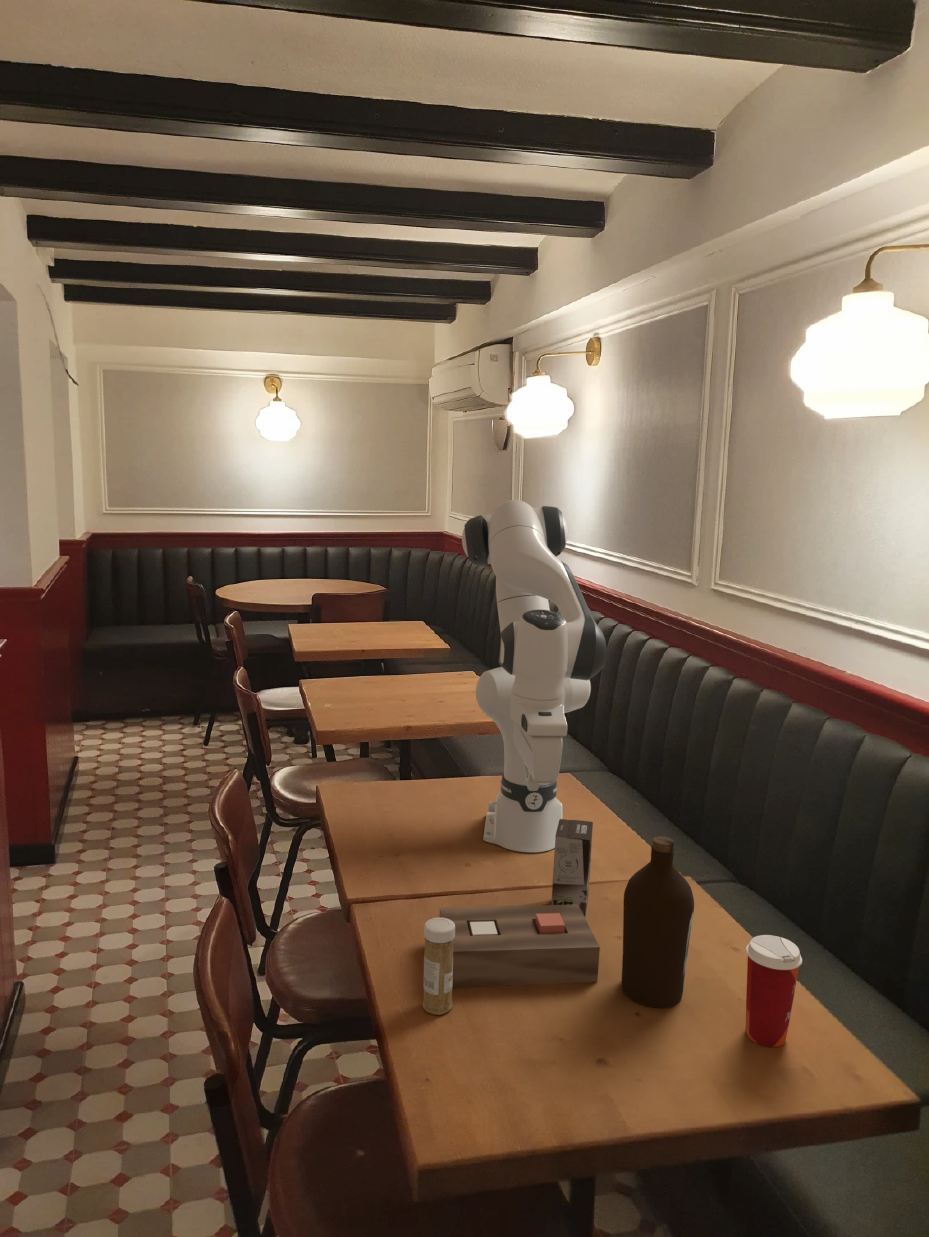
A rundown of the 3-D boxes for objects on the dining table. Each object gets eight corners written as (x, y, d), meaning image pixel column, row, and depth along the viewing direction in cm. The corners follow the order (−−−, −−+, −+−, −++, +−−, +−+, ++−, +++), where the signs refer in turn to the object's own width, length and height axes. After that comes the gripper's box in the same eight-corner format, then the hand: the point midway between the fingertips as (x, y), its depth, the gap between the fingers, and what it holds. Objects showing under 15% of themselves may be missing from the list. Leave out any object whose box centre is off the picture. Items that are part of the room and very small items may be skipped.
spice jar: (457, 1012, 135) (460, 928, 133) (428, 1018, 133) (431, 933, 131) (444, 995, 139) (447, 913, 137) (417, 1001, 137) (419, 919, 135)
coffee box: (585, 925, 162) (590, 840, 159) (549, 920, 163) (554, 836, 160) (589, 902, 171) (594, 820, 168) (554, 897, 172) (559, 816, 169)
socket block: (438, 940, 155) (439, 907, 154) (576, 936, 158) (578, 904, 157) (446, 987, 141) (448, 951, 140) (597, 981, 144) (599, 946, 143)
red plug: (534, 945, 152) (535, 913, 151) (557, 945, 152) (559, 913, 151) (538, 958, 148) (540, 925, 147) (562, 958, 148) (564, 925, 147)
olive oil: (627, 1011, 137) (638, 855, 133) (610, 972, 147) (620, 826, 143) (696, 1010, 138) (709, 855, 133) (674, 971, 148) (686, 826, 144)
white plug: (468, 954, 151) (469, 921, 150) (492, 953, 151) (493, 921, 150) (471, 967, 147) (472, 934, 146) (496, 966, 147) (497, 933, 146)
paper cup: (804, 1047, 130) (814, 957, 127) (758, 1055, 128) (767, 963, 125) (771, 1015, 137) (780, 929, 135) (727, 1022, 135) (735, 935, 133)
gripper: (507, 690, 160) (502, 764, 163) (530, 729, 140) (524, 812, 143) (542, 691, 161) (536, 764, 164) (570, 729, 141) (563, 812, 144)
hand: (531, 787), depth 153 cm, fingers closed
